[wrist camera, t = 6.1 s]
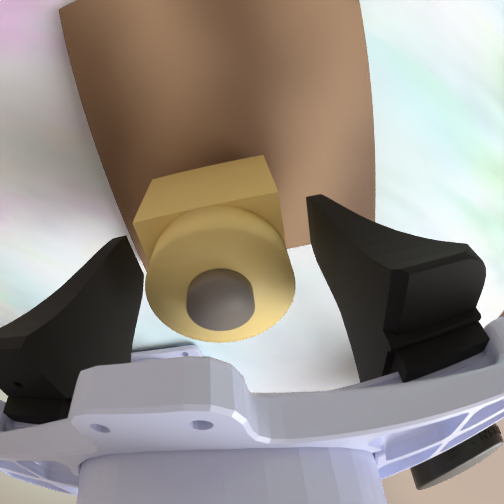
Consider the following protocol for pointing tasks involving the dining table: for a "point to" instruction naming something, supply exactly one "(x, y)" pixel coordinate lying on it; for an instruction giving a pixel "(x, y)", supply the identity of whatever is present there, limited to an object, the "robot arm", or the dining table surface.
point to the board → (228, 96)
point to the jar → (457, 458)
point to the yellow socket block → (216, 251)
